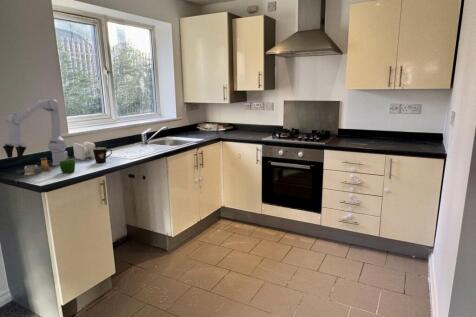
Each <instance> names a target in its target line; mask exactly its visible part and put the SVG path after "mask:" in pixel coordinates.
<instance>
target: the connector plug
mask: <svg viewBox="0 0 476 317" xmlns="http://www.w3.org/2000/svg"><path fill="white" fill-rule="evenodd" d="M40 162H41V167H42V166H44V169H46V168H47V165H49V164H48V158H47V157H41V158H40Z"/></svg>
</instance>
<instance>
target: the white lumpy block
mask: <svg viewBox="0 0 476 317" xmlns="http://www.w3.org/2000/svg"><path fill="white" fill-rule="evenodd" d="M72 147H73V157H74V158H75V159H76V160H80V161H85V160H86V158H91V159H94V160H95V156H94V152H93V148H96V144H95V143H94V142H90V141H84V142H83V143H77V142H74V143H73V144H72Z"/></svg>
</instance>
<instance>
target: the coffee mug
mask: <svg viewBox="0 0 476 317" xmlns="http://www.w3.org/2000/svg"><path fill="white" fill-rule="evenodd" d="M108 151H110V154H108V155H107V152H108ZM93 152H94V156H95V158H94V160H95V163H96V164H97V165H98V164H106V162H107V159H108V157H110V156H111V155H112V154H113V150H112V149H111V148H110V149H109V148H108V149H107V147H99V146H98V147H95V148H93Z"/></svg>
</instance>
